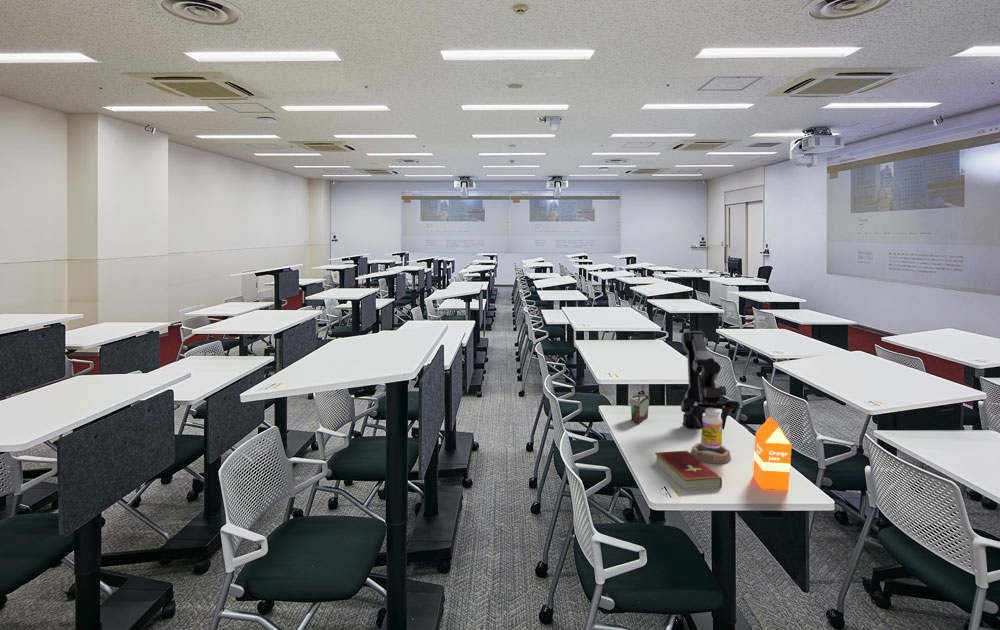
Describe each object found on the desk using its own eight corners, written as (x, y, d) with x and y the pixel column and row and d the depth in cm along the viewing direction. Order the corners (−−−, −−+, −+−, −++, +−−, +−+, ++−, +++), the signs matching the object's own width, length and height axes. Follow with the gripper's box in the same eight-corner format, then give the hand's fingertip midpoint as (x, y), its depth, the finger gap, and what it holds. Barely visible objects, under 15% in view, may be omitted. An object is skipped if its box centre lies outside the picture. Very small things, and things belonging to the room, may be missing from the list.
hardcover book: (687, 461, 182) (688, 449, 181) (721, 489, 161) (722, 476, 161) (654, 463, 180) (655, 451, 180) (684, 492, 160) (685, 478, 159)
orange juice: (778, 478, 168) (782, 417, 165) (788, 491, 159) (793, 426, 156) (752, 476, 169) (756, 416, 166) (761, 489, 160) (765, 425, 158)
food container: (635, 414, 230) (635, 392, 229) (648, 417, 226) (649, 394, 225) (624, 422, 220) (624, 399, 219) (638, 425, 217) (639, 401, 215)
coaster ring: (718, 448, 192) (719, 441, 192) (738, 463, 179) (738, 455, 179) (684, 449, 191) (684, 442, 190) (701, 464, 178) (701, 457, 178)
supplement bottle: (697, 446, 185) (698, 410, 183) (705, 440, 189) (706, 405, 188) (717, 450, 180) (718, 414, 178) (724, 445, 185) (725, 409, 183)
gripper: (683, 376, 187) (688, 416, 178) (740, 378, 184) (747, 419, 174) (679, 391, 196) (683, 430, 186) (732, 393, 192) (739, 433, 183)
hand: (712, 428), depth 182 cm, fingers closed on supplement bottle, 7 cm apart
